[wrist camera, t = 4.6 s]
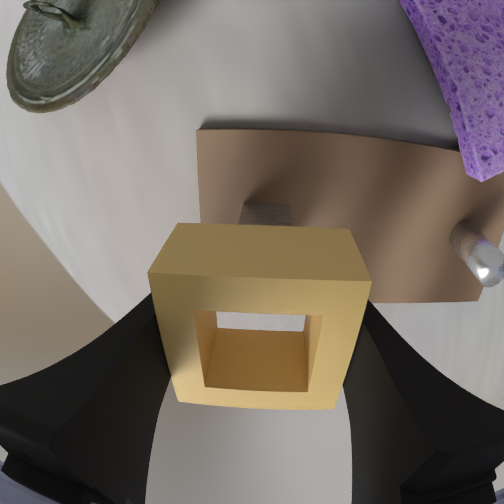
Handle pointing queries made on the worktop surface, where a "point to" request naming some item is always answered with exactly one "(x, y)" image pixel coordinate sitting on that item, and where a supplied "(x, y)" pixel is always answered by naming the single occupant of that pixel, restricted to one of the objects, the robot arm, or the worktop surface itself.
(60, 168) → the worktop surface
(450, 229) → the stand board
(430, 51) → the sponges
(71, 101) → the lid
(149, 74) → the worktop surface
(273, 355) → the collar
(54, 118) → the worktop surface
